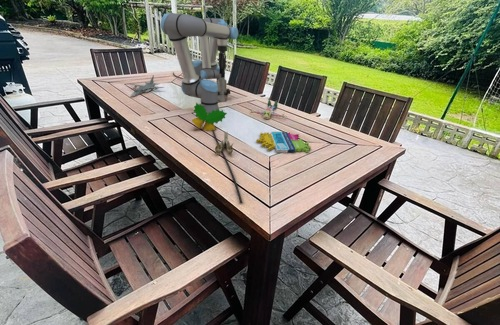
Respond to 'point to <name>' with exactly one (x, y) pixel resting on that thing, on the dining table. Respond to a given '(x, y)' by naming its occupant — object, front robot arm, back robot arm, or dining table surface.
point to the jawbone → (224, 145)
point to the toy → (269, 111)
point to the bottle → (221, 89)
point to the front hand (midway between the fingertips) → (222, 76)
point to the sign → (283, 142)
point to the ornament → (207, 117)
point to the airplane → (145, 87)
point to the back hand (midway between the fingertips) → (222, 94)
